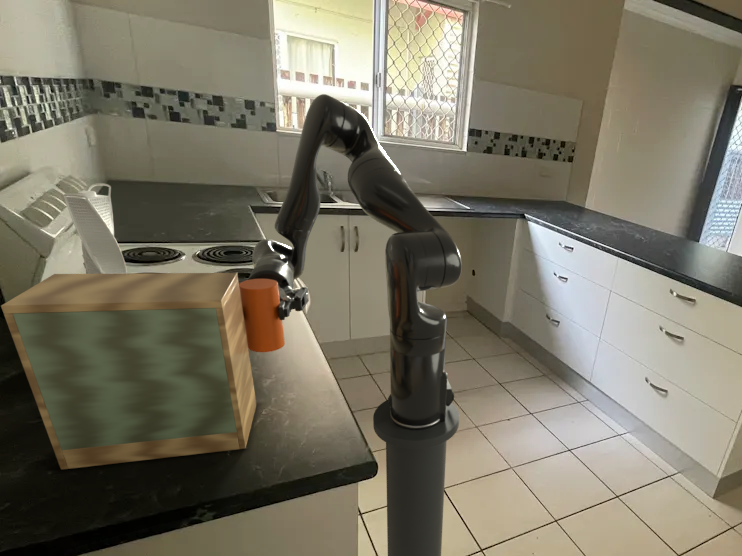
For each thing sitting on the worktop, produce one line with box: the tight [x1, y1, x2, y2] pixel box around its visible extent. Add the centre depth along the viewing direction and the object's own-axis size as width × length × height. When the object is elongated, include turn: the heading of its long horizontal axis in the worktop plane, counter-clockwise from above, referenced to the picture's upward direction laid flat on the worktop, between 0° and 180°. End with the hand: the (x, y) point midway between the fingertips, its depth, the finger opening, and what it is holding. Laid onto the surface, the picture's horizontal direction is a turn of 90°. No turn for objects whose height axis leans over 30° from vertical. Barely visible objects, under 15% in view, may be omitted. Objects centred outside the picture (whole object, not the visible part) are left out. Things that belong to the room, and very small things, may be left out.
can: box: [239, 279, 285, 353], centre depth 78 cm, size 6×6×11 cm
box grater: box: [63, 182, 128, 274], centre depth 102 cm, size 8×8×28 cm
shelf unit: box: [0, 272, 257, 470], centre depth 66 cm, size 22×12×23 cm, turn 109°
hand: (260, 315), depth 76 cm, fingers closed on can, 5 cm apart
